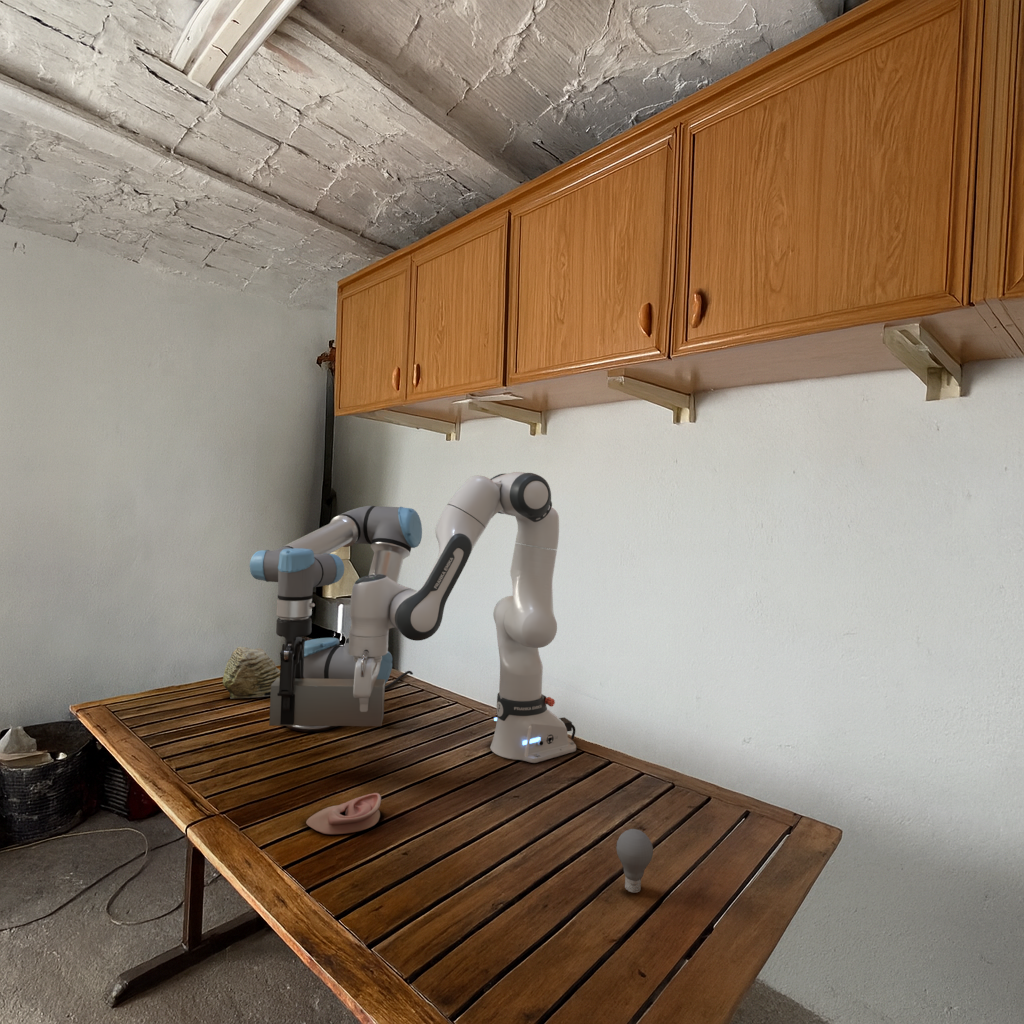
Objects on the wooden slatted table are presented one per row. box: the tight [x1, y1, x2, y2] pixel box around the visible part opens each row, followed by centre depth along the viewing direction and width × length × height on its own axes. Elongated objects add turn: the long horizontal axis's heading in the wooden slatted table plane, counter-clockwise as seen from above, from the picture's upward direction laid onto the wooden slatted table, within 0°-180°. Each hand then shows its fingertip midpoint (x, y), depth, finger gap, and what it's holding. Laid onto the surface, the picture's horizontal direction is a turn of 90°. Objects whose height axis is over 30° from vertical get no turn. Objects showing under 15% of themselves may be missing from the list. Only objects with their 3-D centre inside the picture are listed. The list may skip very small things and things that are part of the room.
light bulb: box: [615, 828, 654, 894], centre depth 106 cm, size 6×6×10 cm
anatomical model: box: [305, 792, 382, 835], centre depth 124 cm, size 13×4×12 cm
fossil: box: [222, 646, 280, 699], centre depth 198 cm, size 9×18×15 cm, turn 132°
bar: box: [268, 678, 386, 727], centre depth 144 cm, size 24×6×9 cm, turn 96°
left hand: (290, 718), depth 143 cm, fingers closed on bar, 6 cm apart
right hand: (366, 705), depth 145 cm, fingers closed on bar, 6 cm apart
